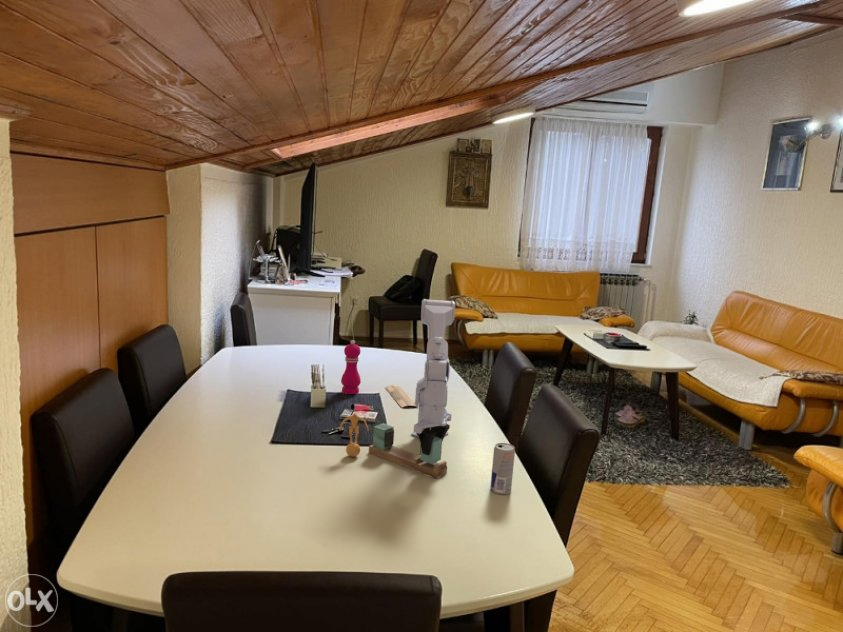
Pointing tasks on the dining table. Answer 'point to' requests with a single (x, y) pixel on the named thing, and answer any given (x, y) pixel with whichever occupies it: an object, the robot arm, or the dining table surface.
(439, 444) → the block
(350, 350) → the pepper mill
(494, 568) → the dining table surface
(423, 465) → the rail
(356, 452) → the figurine
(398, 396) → the tan flat bar
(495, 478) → the energy drink
